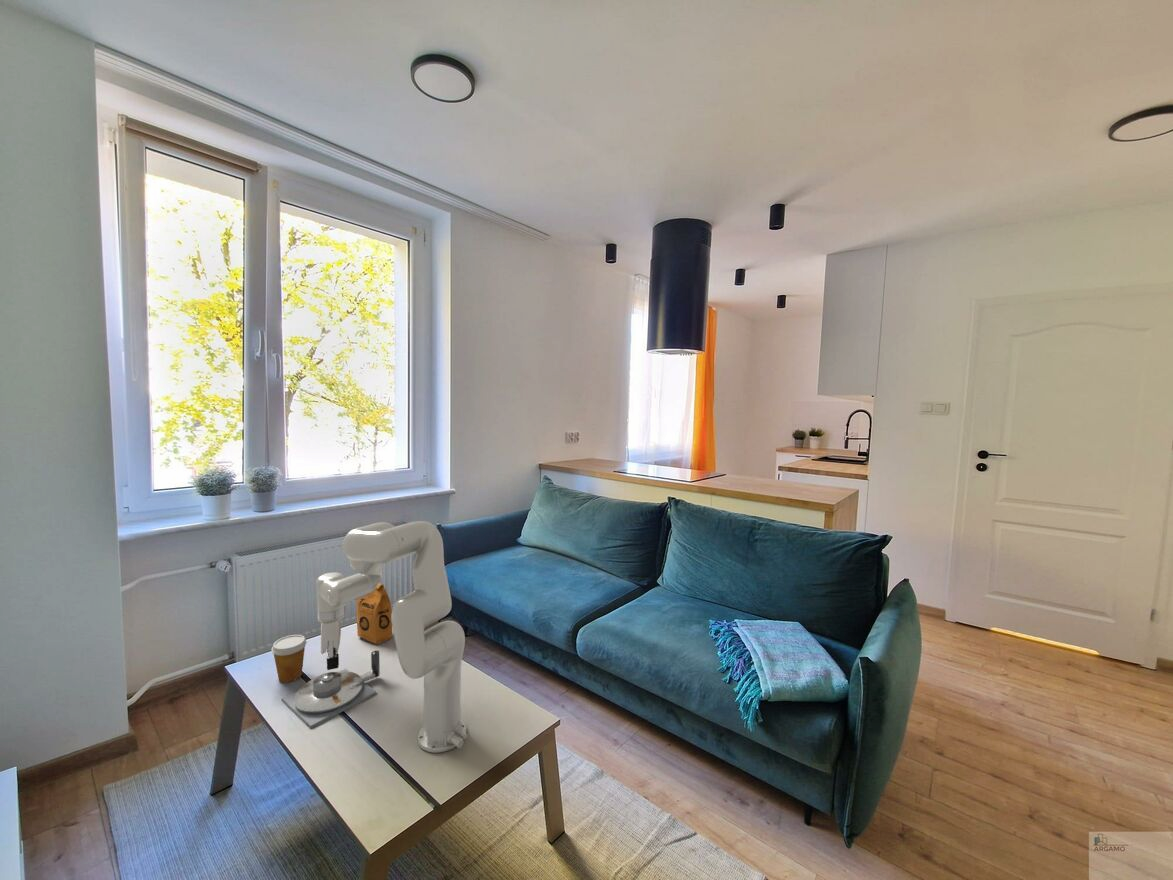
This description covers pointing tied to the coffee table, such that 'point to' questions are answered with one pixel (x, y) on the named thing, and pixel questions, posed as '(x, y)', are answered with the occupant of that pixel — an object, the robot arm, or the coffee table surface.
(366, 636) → the coffee package
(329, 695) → the cover
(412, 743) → the coffee table surface
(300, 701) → the turntable
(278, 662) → the disposable coffee cup
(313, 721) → the plinth
